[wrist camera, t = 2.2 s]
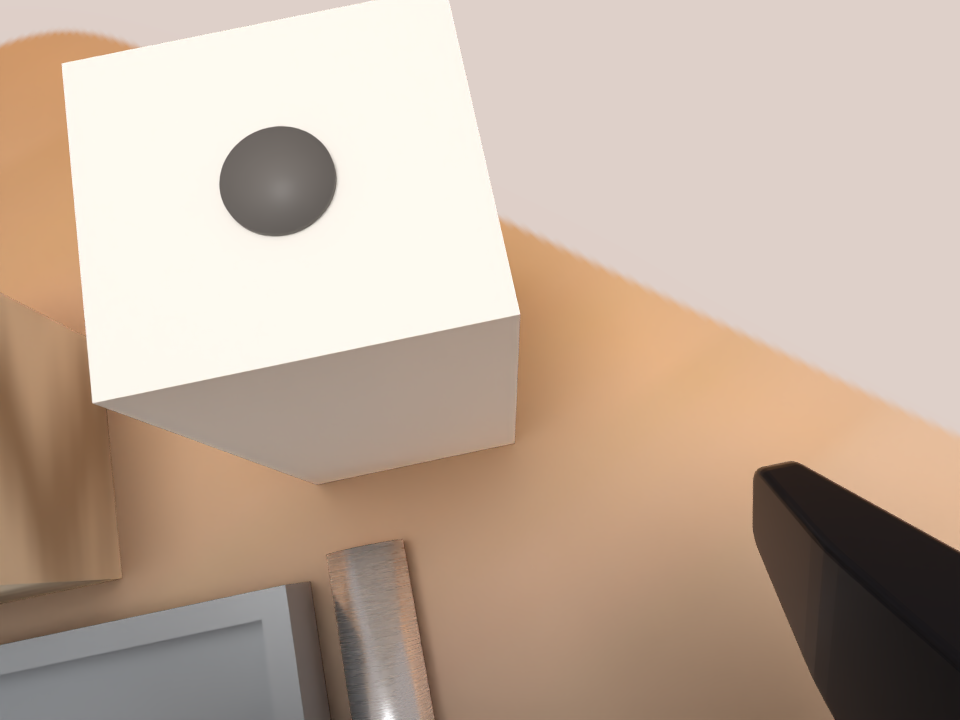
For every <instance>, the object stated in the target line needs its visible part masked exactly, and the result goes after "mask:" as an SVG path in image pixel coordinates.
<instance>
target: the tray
mask: <svg viewBox="0 0 960 720" xmlns="http://www.w3.org/2000/svg"><path fill="white" fill-rule="evenodd" d="M0 720H331V718H330V712H329V705H328V698H327V691H326V685H325V678H324V671H323V665H322V658H321V651H320V644H319V638H318V631H317V624H316V618H315V611H314V604H313V597H312V591H311V584H310V582H303V583H296V584H288V585H282V586H278V587H273V588H268V589H263V590H259V591H254V592H249V593H244V594H240V595H235V596H230V597H226V598H221V599H216V600H211V601H207V602H202V603H197V604H192V605H188V606H183V607H178V608H173V609H169V610H164V611H159V612H155V613H150V614H145V615H140V616H136V617H131V618H126V619H121V620H117V621H112V622H107V623H103V624H98V625H93V626H88V627H84V628H79V629H74V630H69V631H65V632H60V633H55V634H50V635H46V636H41V637H36V638H32V639H27V640H22V641H17V642H13V643H8V644H3V645H0Z"/></svg>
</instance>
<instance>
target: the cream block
mask: <svg viewBox="0 0 960 720" xmlns="http://www.w3.org/2000/svg"><path fill="white" fill-rule="evenodd" d="M62 72H63V83H64V94H65V105H66V116H67V127H68V138H69V150H70V161H71V172H72V183H73V194H74V205H75V216H76V227H77V238H78V249H79V260H80V271H81V282H82V293H83V304H84V316H85V327H86V338H87V349H88V360H89V371H90V382H91V393H92V403H93V404H96V405H99V406H101V407H104V408H107V409H110V410H112V411H115V412H118V413H121V414H123V415H126V416H129V417H132V418H134V419H137V420H140V421H143V422H145V423H148V424H151V425H154V426H156V427H159V428H162V429H165V430H167V431H170V432H173V433H176V434H178V435H181V436H184V437H187V438H189V439H192V440H195V441H198V442H200V443H203V444H206V445H209V446H211V447H214V448H217V449H220V450H222V451H225V452H228V453H231V454H233V455H236V456H239V457H242V458H244V459H247V460H250V461H253V462H255V463H258V464H261V465H264V466H266V467H269V468H272V469H275V470H277V471H280V472H283V473H286V474H288V475H291V476H294V477H297V478H299V479H302V480H305V481H308V482H310V483H313V484H316V485H318V484H323V483H328V482H332V481H337V480H342V479H347V478H351V477H356V476H361V475H366V474H370V473H375V472H380V471H385V470H390V469H394V468H399V467H404V466H409V465H413V464H418V463H423V462H428V461H432V460H437V459H442V458H447V457H451V456H456V455H461V454H466V453H471V452H475V451H480V450H485V449H490V448H494V447H499V446H504V445H509V444H513V443H515V426H516V403H517V379H518V356H519V333H520V311H519V306H518V302H517V298H516V293H515V289H514V284H513V280H512V276H511V271H510V267H509V262H508V258H507V254H506V249H505V245H504V241H503V236H502V232H501V227H500V223H499V219H498V214H497V210H496V206H495V201H494V197H493V192H492V188H491V184H490V179H489V175H488V170H487V166H486V162H485V157H484V153H483V148H482V144H481V140H480V135H479V131H478V126H477V122H476V118H475V114H474V109H473V104H472V100H471V96H470V91H469V87H468V82H467V78H466V74H465V69H464V65H463V61H462V56H461V52H460V47H459V43H458V39H457V34H456V30H455V26H454V21H453V16H452V12H451V8H450V3H449V0H374V1H369V2H364V3H359V4H354V5H349V6H344V7H339V8H334V9H329V10H324V11H320V12H314V13H310V14H305V15H300V16H295V17H290V18H285V19H280V20H275V21H270V22H265V23H260V24H255V25H250V26H245V27H240V28H235V29H231V30H225V31H221V32H215V33H211V34H206V35H201V36H196V37H191V38H186V39H181V40H176V41H171V42H166V43H161V44H156V45H152V46H146V47H141V48H136V49H131V50H126V51H121V52H117V53H112V54H107V55H102V56H97V57H92V58H87V59H82V60H77V61H72V62H67V63H62Z"/></svg>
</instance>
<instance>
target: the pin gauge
mask: <svg viewBox="0 0 960 720" xmlns="http://www.w3.org/2000/svg"><path fill="white" fill-rule="evenodd" d="M326 557H327V563H328V570H329V576H330V583H331V589H332V596H333V602H334V609H335V615H336V622H337V628H338V635H339V641H340V648H341V654H342V661H343V667H344V674H345V680H346V687H347V693H348V700H349V706H350V713H351V719H352V720H435V719H434V713H433V707H432V702H431V696H430V690H429V685H428V679H427V673H426V668H425V662H424V657H423V651H422V645H421V640H420V634H419V628H418V623H417V617H416V611H415V606H414V600H413V594H412V589H411V583H410V577H409V572H408V566H407V560H406V555H405V549H404V543H403V539H399V540H392V541H386V542H380V543H375V544H370V545H365V546H360V547H355V548H350V549H346V550H342V551H337V552H333V553H330V554H327V555H326Z"/></svg>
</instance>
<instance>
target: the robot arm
mask: <svg viewBox="0 0 960 720" xmlns="http://www.w3.org/2000/svg"><path fill="white" fill-rule="evenodd" d="M753 534H754V538H755V542H756V545H757V548H758V550H759V553H760V555H761V558H762V560H763V562H764V565H765V567H766V569H767V572H768V574H769V577H770V579H771V581H772V584H773V586H774V589H775V591H776V593H777V596H778V598H779V600H780V603H781V605H782V608H783V610H784V612H785V615H786V617H787V619H788V622H789V624H790V627H791V629H792V631H793V634H794V636H795V638H796V641H797V643H798V646H799V648H800V650H801V653H802V655H803V657H804V660H805V662H806V664H807V666H808V669H809V671H810V673H811V675H812V678H813V680H814V682H815V684H816V686H817V688H818V689H819V691H820V693H821V695H822V697H823V699H824V701H825V703H826V705H827V706H828V708H829V710H830V712H831V714H832V715H833V717H834V719H835V720H960V551H958V550H956V549H954V548H952V547H951V546H949V545H947V544H945V543H943V542H942V541H940V540H938V539H936V538H934V537H932V536H931V535H929V534H927V533H925V532H923V531H922V530H920V529H918V528H916V527H914V526H913V525H911V524H909V523H907V522H905V521H904V520H902V519H900V518H898V517H896V516H895V515H893V514H891V513H889V512H887V511H885V510H884V509H882V508H880V507H878V506H876V505H875V504H873V503H871V502H869V501H867V500H866V499H864V498H862V497H860V496H858V495H857V494H855V493H853V492H851V491H849V490H847V489H846V488H844V487H842V486H840V485H838V484H837V483H835V482H833V481H831V480H829V479H828V478H826V477H824V476H822V475H820V474H819V473H817V472H815V471H813V470H811V469H810V468H808V467H806V466H804V465H802V464H800V463H797V462H794V461H788V462H783V463H779V464H774V465H769V466H764V467H761V468H759V469H758V470H757V471H756V472H755V474H754V478H753Z"/></svg>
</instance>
